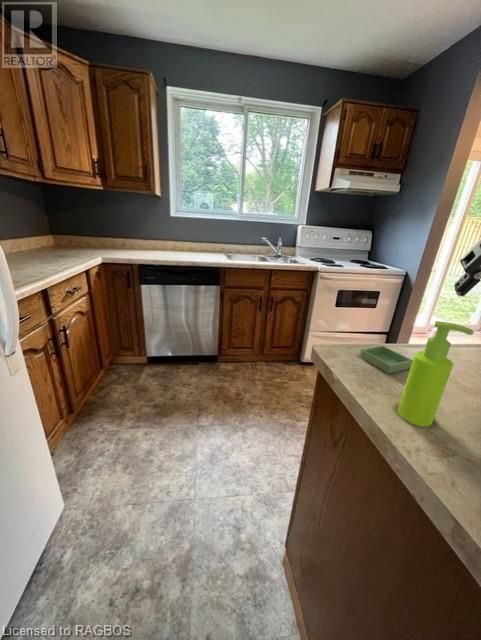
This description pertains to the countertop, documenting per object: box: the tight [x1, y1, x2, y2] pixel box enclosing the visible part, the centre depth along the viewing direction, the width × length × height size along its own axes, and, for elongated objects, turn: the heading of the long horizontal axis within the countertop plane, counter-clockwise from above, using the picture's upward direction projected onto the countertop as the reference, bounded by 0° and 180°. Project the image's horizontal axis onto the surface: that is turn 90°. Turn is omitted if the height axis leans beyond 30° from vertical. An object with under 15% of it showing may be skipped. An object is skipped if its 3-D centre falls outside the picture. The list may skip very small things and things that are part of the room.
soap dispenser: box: [397, 320, 474, 427], centre depth 50 cm, size 6×7×20 cm
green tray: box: [359, 345, 413, 374], centre depth 74 cm, size 10×8×2 cm
